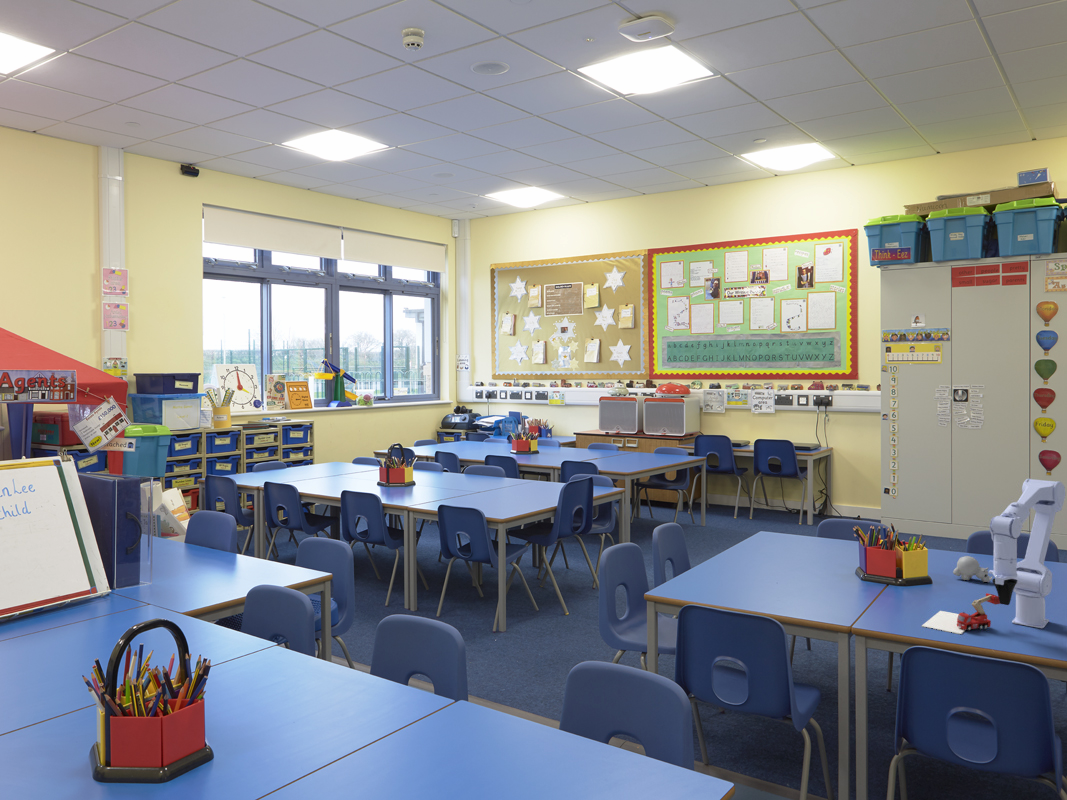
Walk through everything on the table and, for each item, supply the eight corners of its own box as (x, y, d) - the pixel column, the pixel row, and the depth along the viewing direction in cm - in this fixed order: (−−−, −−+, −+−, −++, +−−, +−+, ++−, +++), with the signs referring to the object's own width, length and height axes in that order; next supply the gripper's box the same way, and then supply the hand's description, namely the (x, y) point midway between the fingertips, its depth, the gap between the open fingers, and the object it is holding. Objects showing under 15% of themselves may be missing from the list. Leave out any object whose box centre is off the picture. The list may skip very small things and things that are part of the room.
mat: (940, 611, 239) (940, 610, 239) (977, 618, 231) (977, 617, 231) (921, 626, 225) (921, 625, 225) (960, 634, 218) (960, 633, 218)
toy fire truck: (954, 627, 223) (957, 595, 222) (991, 623, 227) (993, 592, 226) (964, 631, 220) (966, 599, 219) (1001, 627, 223) (1003, 596, 223)
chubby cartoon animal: (982, 592, 268) (992, 572, 265) (949, 573, 276) (958, 554, 273) (989, 587, 273) (999, 568, 270) (956, 570, 281) (965, 550, 278)
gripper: (995, 551, 226) (994, 595, 226) (983, 560, 215) (982, 606, 215) (1022, 554, 221) (1022, 600, 221) (1011, 564, 210) (1011, 612, 211)
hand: (1004, 604), depth 218 cm, fingers closed
